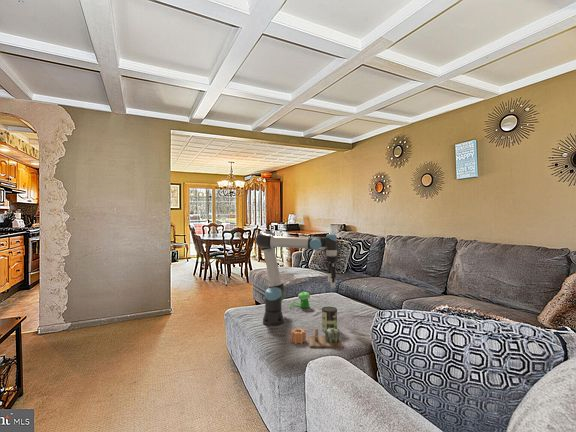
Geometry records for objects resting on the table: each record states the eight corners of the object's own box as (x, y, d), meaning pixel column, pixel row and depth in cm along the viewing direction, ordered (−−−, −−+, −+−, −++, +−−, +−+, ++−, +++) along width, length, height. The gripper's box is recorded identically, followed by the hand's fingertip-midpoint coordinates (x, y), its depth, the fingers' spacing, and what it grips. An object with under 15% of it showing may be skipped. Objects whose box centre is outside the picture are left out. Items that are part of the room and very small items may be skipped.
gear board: (310, 347, 175) (310, 333, 175) (308, 337, 189) (308, 324, 189) (342, 347, 176) (342, 333, 175) (338, 337, 190) (338, 324, 189)
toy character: (290, 306, 254) (288, 290, 254) (311, 305, 252) (309, 289, 252) (288, 310, 245) (287, 294, 245) (310, 309, 242) (309, 292, 242)
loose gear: (291, 343, 181) (290, 333, 181) (290, 337, 190) (290, 327, 190) (306, 343, 181) (306, 333, 181) (305, 337, 190) (305, 327, 190)
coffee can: (339, 328, 203) (339, 307, 203) (333, 334, 194) (333, 312, 194) (325, 325, 209) (325, 305, 208) (319, 330, 200) (318, 309, 200)
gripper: (340, 258, 208) (340, 288, 208) (333, 252, 233) (333, 280, 233) (329, 258, 207) (329, 288, 208) (323, 252, 232) (323, 280, 233)
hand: (331, 284), depth 221 cm, fingers open, 13 cm apart
